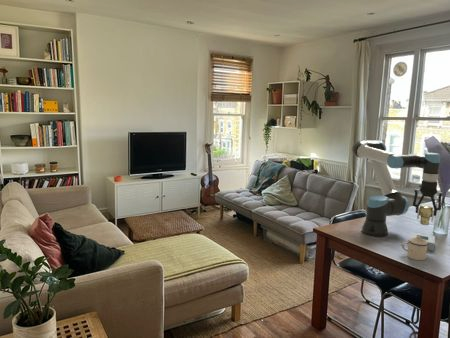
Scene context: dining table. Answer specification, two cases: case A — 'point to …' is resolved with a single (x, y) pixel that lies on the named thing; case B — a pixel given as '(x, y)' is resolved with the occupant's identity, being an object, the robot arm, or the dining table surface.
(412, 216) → the dining table surface
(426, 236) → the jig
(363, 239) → the dining table surface
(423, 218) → the gold cylinder
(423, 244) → the teacup with lid
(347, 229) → the dining table surface
